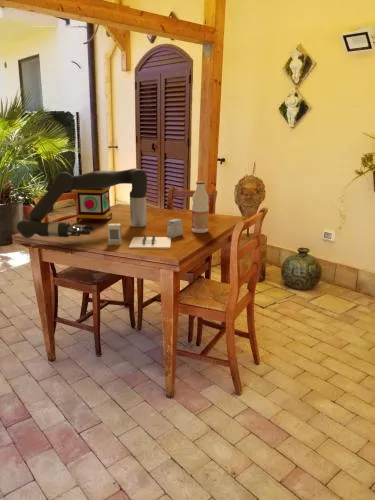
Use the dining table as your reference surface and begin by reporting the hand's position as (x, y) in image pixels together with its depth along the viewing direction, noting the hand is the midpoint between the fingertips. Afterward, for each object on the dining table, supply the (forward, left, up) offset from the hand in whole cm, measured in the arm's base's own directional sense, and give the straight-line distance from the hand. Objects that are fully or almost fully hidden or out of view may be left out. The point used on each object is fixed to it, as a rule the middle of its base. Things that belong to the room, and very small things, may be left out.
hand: (91, 230), depth 205 cm
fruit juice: (-26, +55, -7) cm, 62 cm away
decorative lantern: (-50, -9, -7) cm, 51 cm away
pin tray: (-1, +29, -7) cm, 30 cm away
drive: (0, +11, -7) cm, 13 cm away
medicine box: (-16, +41, -7) cm, 45 cm away
